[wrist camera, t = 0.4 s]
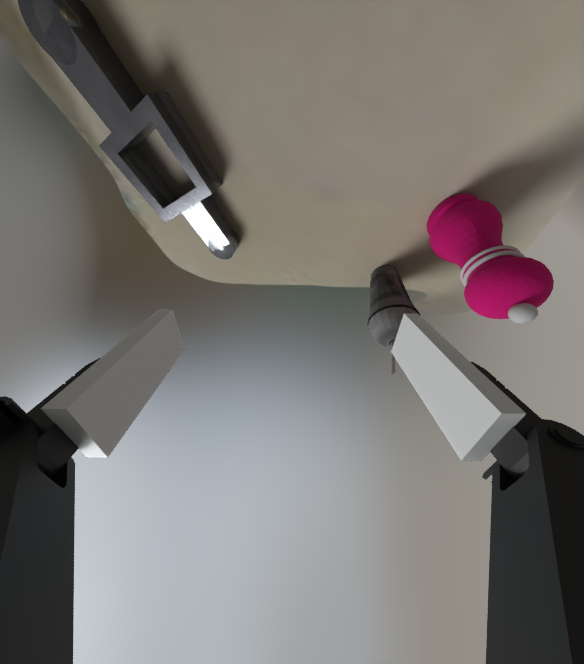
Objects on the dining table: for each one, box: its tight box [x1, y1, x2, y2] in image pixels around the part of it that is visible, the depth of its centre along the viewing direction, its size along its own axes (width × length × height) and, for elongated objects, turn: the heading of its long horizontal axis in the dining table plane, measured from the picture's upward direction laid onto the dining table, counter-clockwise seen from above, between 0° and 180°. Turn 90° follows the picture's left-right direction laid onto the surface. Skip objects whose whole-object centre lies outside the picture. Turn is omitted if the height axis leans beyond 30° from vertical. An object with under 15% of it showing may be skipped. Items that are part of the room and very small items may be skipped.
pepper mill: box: [427, 193, 554, 323], centre depth 24 cm, size 7×7×20 cm
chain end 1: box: [18, 0, 217, 222], centre depth 26 cm, size 19×10×4 cm, turn 26°
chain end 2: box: [128, 92, 239, 259], centre depth 32 cm, size 19×10×3 cm, turn 26°
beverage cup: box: [368, 265, 420, 374], centre depth 33 cm, size 7×7×20 cm
